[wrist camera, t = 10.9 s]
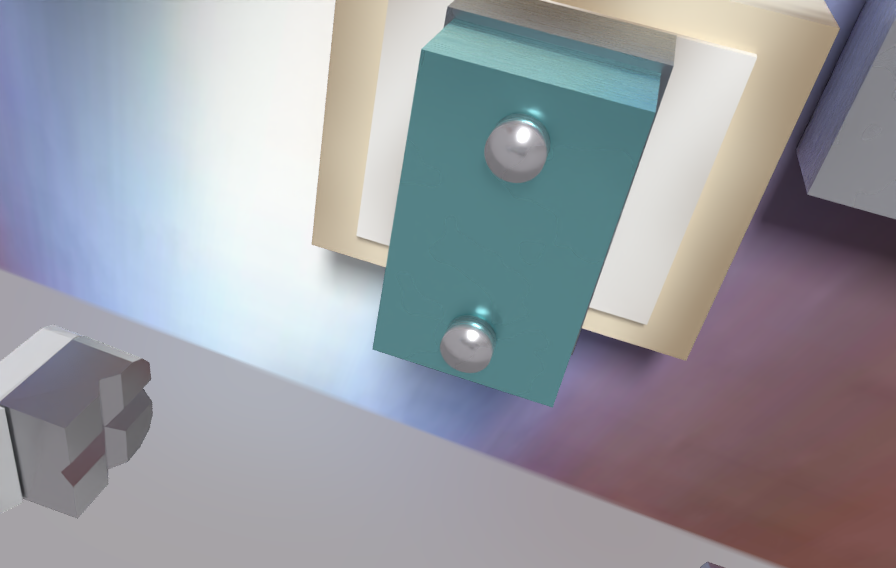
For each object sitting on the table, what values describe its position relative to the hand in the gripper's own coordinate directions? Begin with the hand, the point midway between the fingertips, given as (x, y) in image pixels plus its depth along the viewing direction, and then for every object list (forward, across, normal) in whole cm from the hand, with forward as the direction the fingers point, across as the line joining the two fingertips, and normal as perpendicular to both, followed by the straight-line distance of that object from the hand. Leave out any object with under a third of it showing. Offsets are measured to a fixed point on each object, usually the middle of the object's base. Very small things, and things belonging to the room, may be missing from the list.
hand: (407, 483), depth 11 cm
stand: (+15, +1, 0) cm, 16 cm away
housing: (+12, +1, 0) cm, 12 cm away
